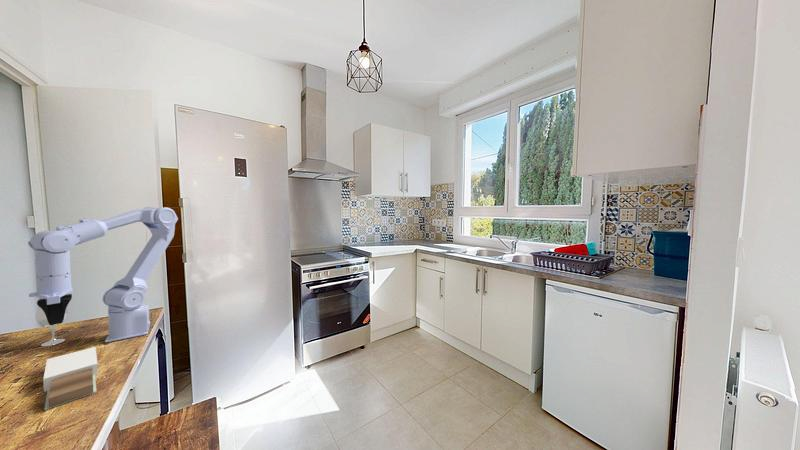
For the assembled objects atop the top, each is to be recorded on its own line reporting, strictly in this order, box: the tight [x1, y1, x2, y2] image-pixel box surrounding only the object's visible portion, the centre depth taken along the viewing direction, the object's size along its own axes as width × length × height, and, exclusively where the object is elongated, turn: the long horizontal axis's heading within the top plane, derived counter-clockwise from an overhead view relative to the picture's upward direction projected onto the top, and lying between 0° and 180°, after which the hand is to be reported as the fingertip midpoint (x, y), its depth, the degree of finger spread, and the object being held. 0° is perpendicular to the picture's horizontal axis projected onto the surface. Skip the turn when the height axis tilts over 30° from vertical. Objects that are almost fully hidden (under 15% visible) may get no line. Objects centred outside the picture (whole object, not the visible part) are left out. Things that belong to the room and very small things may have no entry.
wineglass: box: [35, 306, 68, 347], centre depth 79 cm, size 6×6×12 cm
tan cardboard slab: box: [48, 368, 94, 409], centre depth 59 cm, size 9×6×2 cm, turn 51°
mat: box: [43, 375, 97, 411], centre depth 59 cm, size 9×7×1 cm
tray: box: [42, 346, 99, 392], centre depth 65 cm, size 12×8×3 cm, turn 51°
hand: (56, 323), depth 71 cm, fingers closed
